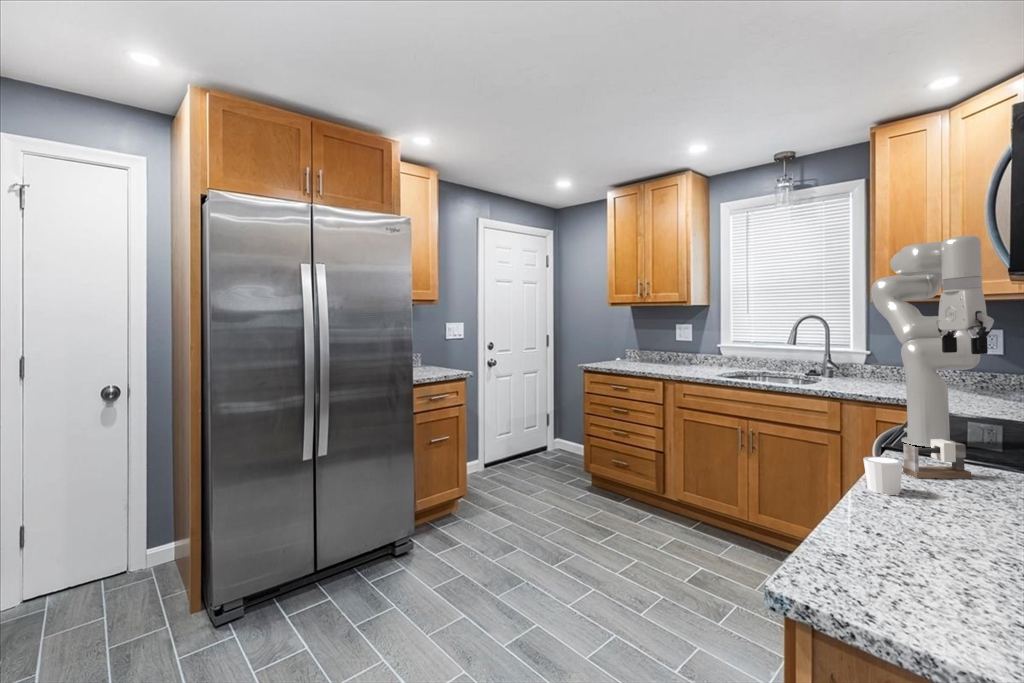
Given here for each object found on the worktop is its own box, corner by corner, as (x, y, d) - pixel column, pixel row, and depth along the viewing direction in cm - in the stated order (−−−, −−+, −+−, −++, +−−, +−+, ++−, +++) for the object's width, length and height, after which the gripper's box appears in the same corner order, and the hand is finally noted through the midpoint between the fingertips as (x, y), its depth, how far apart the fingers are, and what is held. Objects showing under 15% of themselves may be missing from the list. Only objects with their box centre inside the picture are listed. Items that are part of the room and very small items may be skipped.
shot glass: (871, 495, 106) (870, 463, 106) (859, 486, 112) (858, 455, 112) (909, 497, 104) (908, 464, 104) (895, 487, 110) (894, 456, 110)
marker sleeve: (931, 457, 120) (930, 439, 120) (942, 457, 119) (941, 439, 119) (944, 462, 115) (943, 443, 115) (955, 461, 115) (955, 443, 115)
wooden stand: (903, 472, 121) (901, 442, 121) (955, 472, 119) (954, 441, 119) (916, 478, 116) (915, 446, 116) (971, 478, 114) (970, 446, 114)
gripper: (922, 289, 134) (924, 352, 135) (972, 283, 117) (974, 355, 117) (952, 288, 133) (954, 351, 134) (1007, 281, 116) (1010, 354, 116)
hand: (964, 353), depth 125 cm, fingers open, 9 cm apart
